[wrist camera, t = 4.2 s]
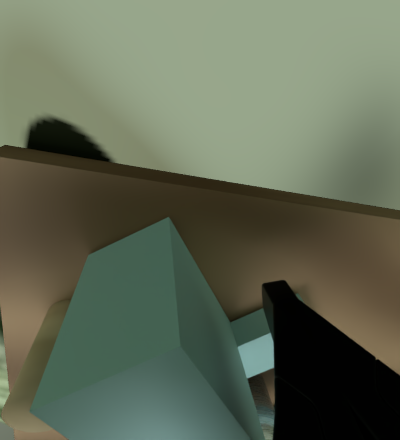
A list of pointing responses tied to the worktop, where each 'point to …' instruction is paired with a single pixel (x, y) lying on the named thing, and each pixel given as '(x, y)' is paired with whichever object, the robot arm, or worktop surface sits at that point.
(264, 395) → the post
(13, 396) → the dowel
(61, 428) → the flange
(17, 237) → the board
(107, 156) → the worktop surface
